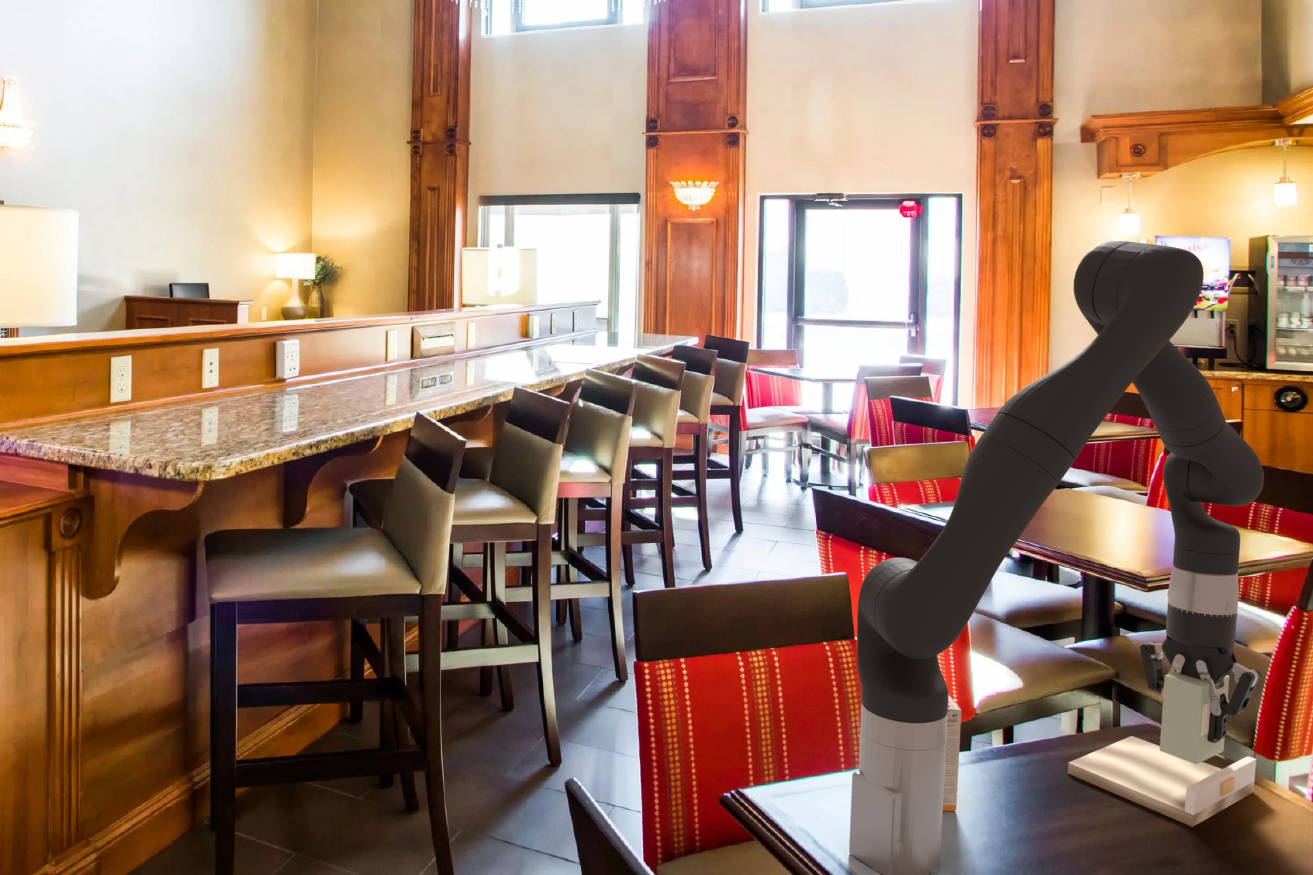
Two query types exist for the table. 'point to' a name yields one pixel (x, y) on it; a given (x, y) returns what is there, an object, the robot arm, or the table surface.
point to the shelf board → (1166, 779)
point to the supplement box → (952, 756)
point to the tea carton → (1187, 719)
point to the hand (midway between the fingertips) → (1192, 732)
